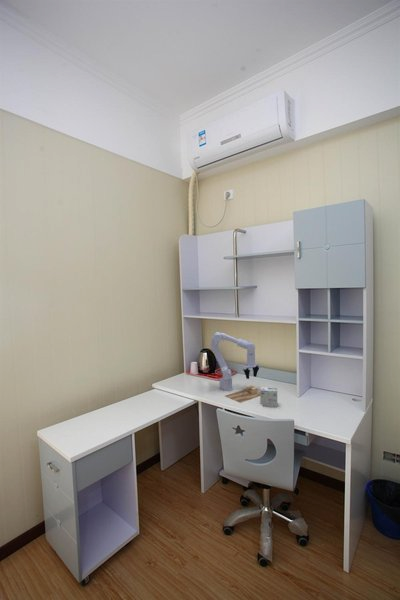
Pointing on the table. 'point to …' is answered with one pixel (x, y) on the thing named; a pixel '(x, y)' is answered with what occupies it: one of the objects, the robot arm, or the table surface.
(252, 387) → the block
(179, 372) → the table surface
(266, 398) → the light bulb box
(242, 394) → the board
